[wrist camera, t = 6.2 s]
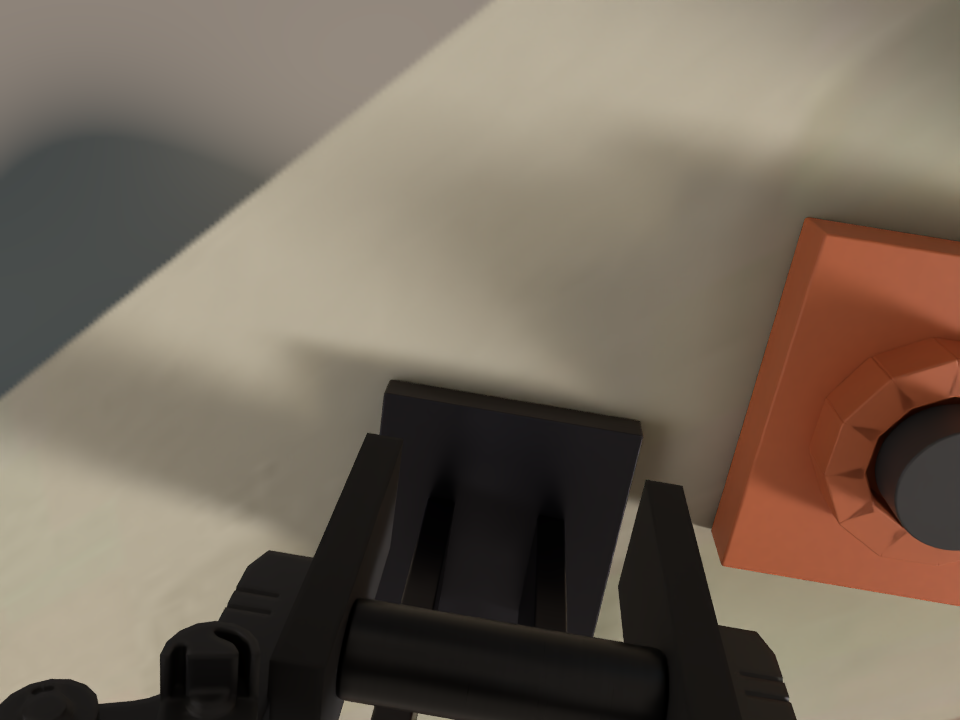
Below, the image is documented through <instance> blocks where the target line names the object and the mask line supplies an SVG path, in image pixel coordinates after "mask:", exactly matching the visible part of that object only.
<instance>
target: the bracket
mask: <svg viewBox="0 0 960 720" xmlns="http://www.w3.org/2000/svg"><path fill="white" fill-rule="evenodd" d="M380 435H383V436H389V437H395V438H401V439H403V447H402V455H401V463H400V471H399V479H398V487H397V496H396V504H395V512H394V520H393V528H392V536H391V544H390V549H389V553H388V556H387V559H386V563H385V566H384V569H383V573H382V576H381V579H380V583H379V586H378V589H377V593H376V596H375V599H374V600H379V601H385V602H391V603H397V604H402V605H408V606H414V607H420V608H426V609H432V610H437V611H443V612H449V613H455V614H461V615H467V616H472V617H478V618H484V619H490V620H496V621H501V622H507V623H513V624H519V625H525V626H531V627H536V628H542V629H548V630H554V631H560V632H566V633H571V634H577V635H583V636H589V637H593V636H594V632H595V628H596V624H597V620H598V616H599V612H600V608H601V604H602V600H603V596H604V592H605V588H606V584H607V580H608V576H609V572H610V568H611V563H612V559H613V555H614V551H615V547H616V543H617V539H618V535H619V531H620V527H621V523H622V519H623V515H624V511H625V507H626V503H627V499H628V495H629V491H630V487H631V483H632V479H633V475H634V471H635V467H636V463H637V459H638V455H639V451H640V447H641V443H642V439H643V434H642V429H641V424H640V421H636V420H630V419H624V418H618V417H612V416H606V415H600V414H594V413H588V412H582V411H576V410H571V409H565V408H559V407H553V406H547V405H541V404H535V403H529V402H523V401H517V400H511V399H505V398H499V397H493V396H487V395H481V394H475V393H469V392H463V391H457V390H451V389H445V388H439V387H433V386H427V385H421V384H415V383H409V382H403V381H397V380H390V381H389V384H388V386H387V388H386V391H385V393H384V399H383V408H382V417H381V426H380ZM417 716H418V713H414V712H408V711H402V710H397V709H391V708H385V707H379V706H374V710H373V714H372V717H371V720H417Z"/></svg>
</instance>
